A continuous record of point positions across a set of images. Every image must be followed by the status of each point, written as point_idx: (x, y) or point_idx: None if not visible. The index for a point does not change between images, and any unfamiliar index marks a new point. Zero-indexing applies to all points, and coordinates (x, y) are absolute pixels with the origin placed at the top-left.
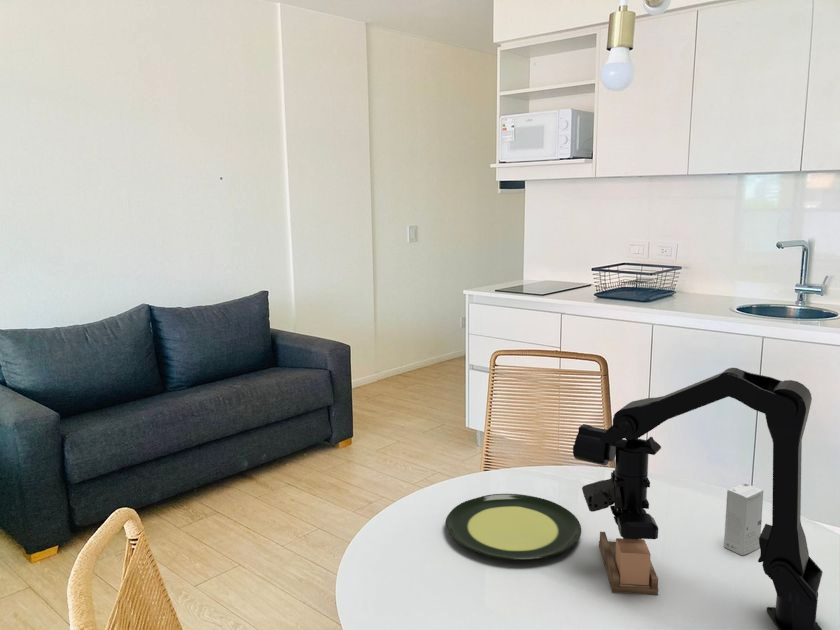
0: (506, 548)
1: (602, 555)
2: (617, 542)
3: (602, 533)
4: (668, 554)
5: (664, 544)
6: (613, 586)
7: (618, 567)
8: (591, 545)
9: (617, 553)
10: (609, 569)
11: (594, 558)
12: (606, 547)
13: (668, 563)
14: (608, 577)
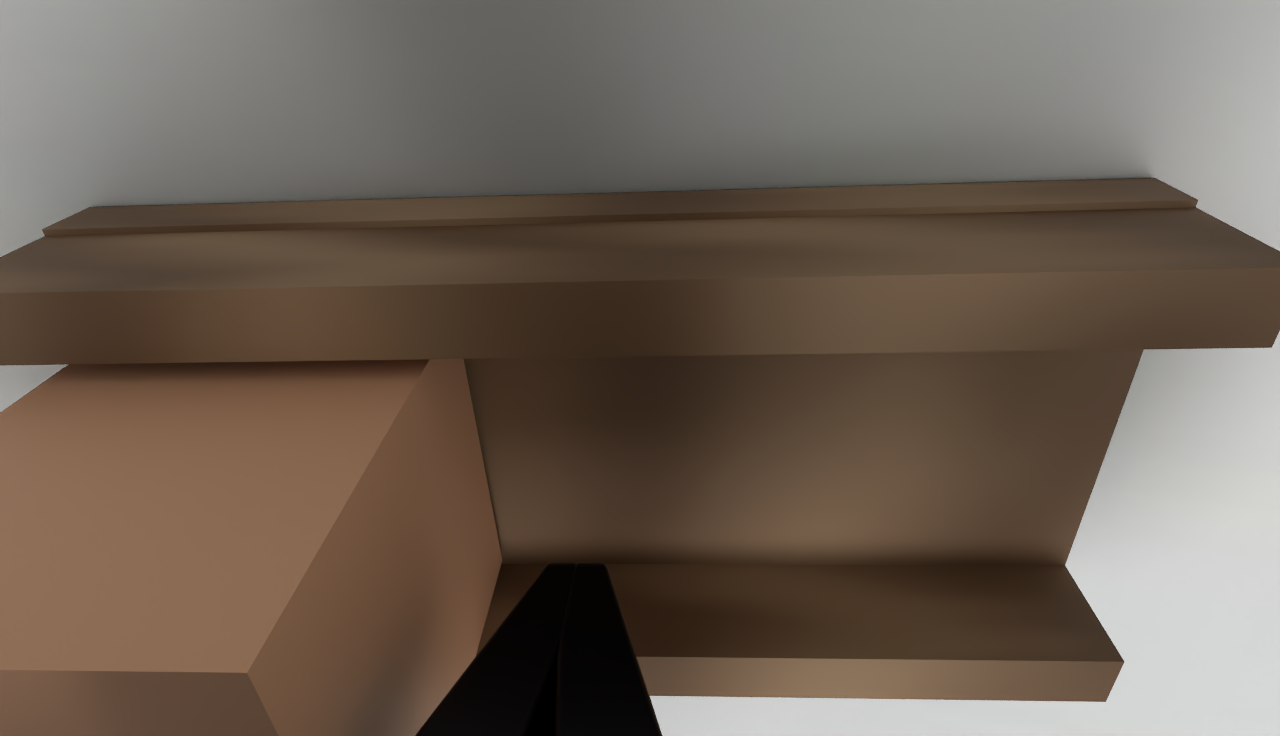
0: None
1: (838, 196)
2: (85, 660)
3: (1230, 300)
4: (883, 720)
5: (1046, 726)
6: (42, 243)
7: (163, 393)
8: (1184, 68)
9: (176, 496)
10: (294, 253)
11: (816, 74)
12: (743, 305)
13: (745, 697)
14: (349, 204)
